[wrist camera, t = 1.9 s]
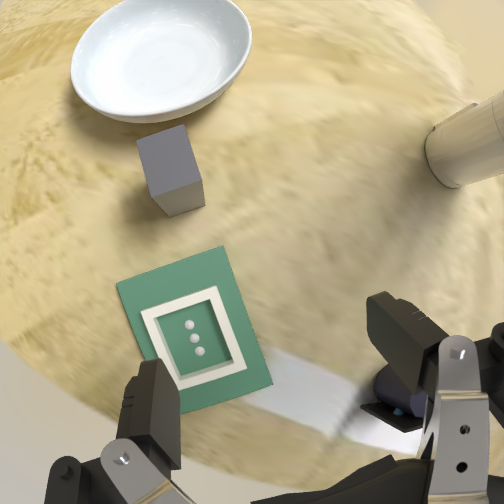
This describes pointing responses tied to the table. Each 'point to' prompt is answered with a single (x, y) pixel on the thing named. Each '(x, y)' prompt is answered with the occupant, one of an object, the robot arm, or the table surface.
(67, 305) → the table surface
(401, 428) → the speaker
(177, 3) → the serving bowl
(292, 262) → the table surface
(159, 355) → the board
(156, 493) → the robot arm
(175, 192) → the gray rectangular block
